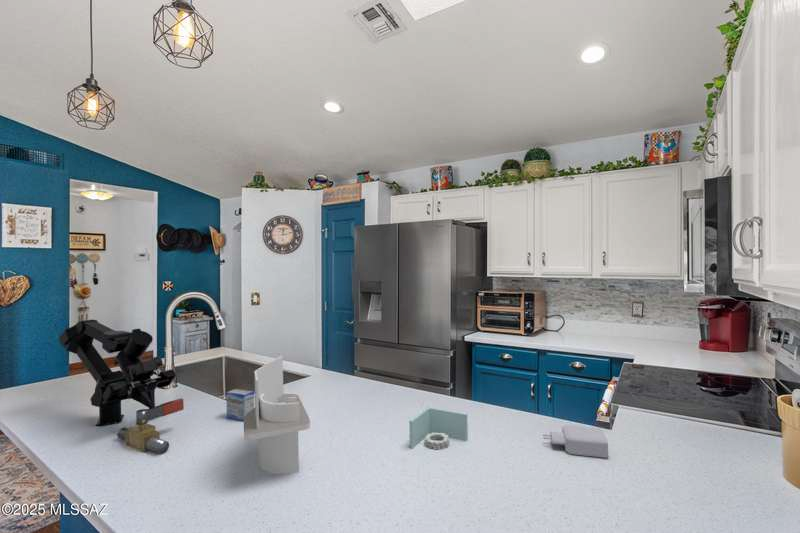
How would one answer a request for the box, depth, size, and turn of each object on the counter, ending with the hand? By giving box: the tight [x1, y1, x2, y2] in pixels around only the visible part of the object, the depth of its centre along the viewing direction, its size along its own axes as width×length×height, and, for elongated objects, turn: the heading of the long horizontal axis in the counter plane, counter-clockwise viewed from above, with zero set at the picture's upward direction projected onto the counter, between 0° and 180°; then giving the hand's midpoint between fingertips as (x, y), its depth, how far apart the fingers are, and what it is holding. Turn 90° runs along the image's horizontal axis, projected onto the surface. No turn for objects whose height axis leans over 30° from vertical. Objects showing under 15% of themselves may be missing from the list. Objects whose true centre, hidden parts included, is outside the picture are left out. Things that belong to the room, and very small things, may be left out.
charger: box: [542, 424, 609, 459], centre depth 105 cm, size 5×9×15 cm
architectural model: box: [243, 355, 311, 475], centre depth 102 cm, size 28×21×23 cm
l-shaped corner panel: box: [408, 406, 469, 450], centre depth 108 cm, size 12×12×8 cm
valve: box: [116, 423, 170, 455], centre depth 110 cm, size 20×4×6 cm, turn 61°
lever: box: [135, 398, 185, 425], centre depth 114 cm, size 3×13×4 cm, turn 151°
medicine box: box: [226, 388, 255, 422], centre depth 129 cm, size 8×4×9 cm, turn 68°
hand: (153, 407), depth 117 cm, fingers closed
